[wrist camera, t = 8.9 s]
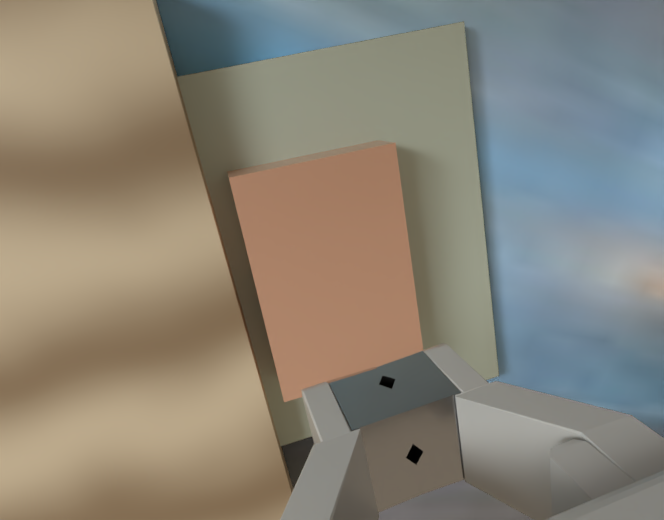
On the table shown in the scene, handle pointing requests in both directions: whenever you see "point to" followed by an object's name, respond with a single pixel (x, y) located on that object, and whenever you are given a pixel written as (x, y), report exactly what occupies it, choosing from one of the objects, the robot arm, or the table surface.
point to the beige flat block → (117, 287)
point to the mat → (351, 129)
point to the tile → (330, 261)
